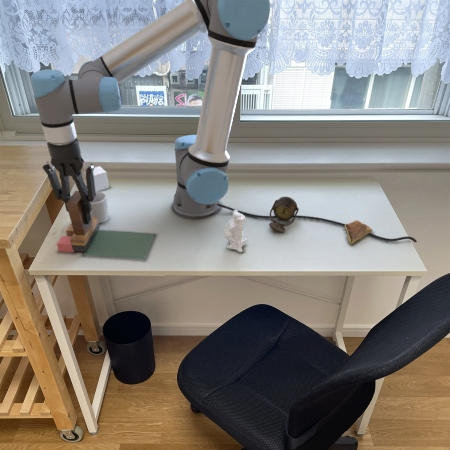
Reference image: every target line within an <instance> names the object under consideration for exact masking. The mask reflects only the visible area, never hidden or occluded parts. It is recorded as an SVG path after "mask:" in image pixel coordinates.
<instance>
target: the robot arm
mask: <svg viewBox="0 0 450 450" xmlns="http://www.w3.org/2000/svg"><path fill="white" fill-rule="evenodd" d="M270 13H271V1H270V0H184V1H183V2H181V3H180V4H178V5H177V6H175V7H174V8H172V9H171V10H169V11H168V12H166V13H164V14H163V15H162V16H160V17H158V18H157V19H156V20H154V21H152V22H151V23H149V24H148V25H146V26H144V27H143V28H142V29H140V30H139V31H137V32H135V33H134V34H133V35H131V36H129V37H127V38H126V39H124V41H122V42H120V43H118V44H117V45H115V46H114V47H112V48H111V49H110V50H108V51H107V52H105V53H103V54H102V55H101V56H99V57H97V58H96V59H94V60H88V61H85V62H84V63H83V64H82V65H81V66H80V68H79V69H78V74H77V75H78V76H77V79H66V77H65V75H64V72H62V71H61V70H60V69H41V70H37V71H35V72H33V73H32V74H31V76H30V84H31V88H32V93H33V98H34V101H35V105H36V108H37V112H38V115H39V119H40V123H41V127H42V131H43V135H44V138H45V141H46V142H47V143H46V146H47V149H48V152H49V156H50V161H46V162H45V163H44V164H43V165H42V169H43V171H44V172H45V174H46V175H47V178H48V180H49V183H50V185H51V188H52V191H53V194H54V196H55V199H56V200H57V201H60V200H61V201H62V202H63V203H64V206H65V210H66V212H68V209H67V205H66V203H67V202H68V200H69V199H70V197H71V196H72V195H71V188H70V177H71V178H72V180H73V181H74V183H75V185H76V188H77V191H79V193H80V196H81V198H82V202H81V207H82V211H83V215H84V220H85V224H89V222H90V221H91V216H90V212H91V210H92V207H91V203H90V201H91V202H92V201H93V200H94V198H95V197H96V192H95V184H94V175H93V171H94V167H96V166H95V164H94V163H87V162H85V160H84V158H83V157H82V154H81V153H82V151H81V147H80V143H79V139H78V138H77V137H78V134H77V130H76V126H75V121H74V117H73V115H85V114H103V113H105V114H108V113H112V112H117V111H118V112H119V111H120V110H121V108H122V101H121V95H120V88H119V85H120V84H122V83H123V82H125V81H126V80H128V79H129V78H131V77H133V76H134V75H135V74H138V73H139V72H140V71H143V70H144V69H145V68H147V67H148V66H150V65H152V64H153V63H155V62H156V61H158V60H159V59H161V58H162V57H164V56H166V55H167V54H169V53H170V52H172V51H173V50H175V49H176V48H178V47H180V46H182V44H185V43H186V42H188V41H189V40H191V39H192V38H194V37H195V36H197V35H198V34H200V33H203V34H207V38H208V40H209V42H210V43H211V51H210V57H209V63H208V69H207V74H206V79H205V86H204V91H203V97H202V103H201V109H200V112H199V113H200V114H199V119H198V126H197V131H196V134H189V135H183V136H180V137H178V138H176V139H175V141H174V148H173V150H174V155H175V166H176V167H175V169H176V181H177V182H176V184H177V186H176V190H175V193H174V195H173V201H172V205H173V210H174V211H175V212H176V213H177V214H179V215H181V216H182V217H183V216H184V217H187V218H203V217H209V216H212V215H213V214H215V213H217V211H219V210H220V209H219V208H220V207H221V208H223V209H227V210H229V211H232V212H233V210H237V211H238V213H241V214H243V215H244V216H248V217H253V218H258V219H259V218H260V219H271V218H270V215H261V214H255V213H249V212H247V211H246V212H245V211H243V210H239V209H235V208H233V207H231V206H227V205H225V204H222V203H220V200H222V199H223V198H224V197H225V196H226V194H227V192H228V190H229V185H230V184H229V183H230V182H229V177H228V175H227V171H228V167H229V163H230V160H231V159H230V155H229V153H228V151H227V147H228V142H229V138H230V133H231V128H232V125H233V120H234V119H233V118H234V115H235V111H236V105H237V101H238V97H239V92H240V88H241V84H242V79H243V74H244V71H245V66H246V61H247V56H248V54H250V53H251V52H253V51H254V50H255V49H256V47H257V46H256V45H257V41H258V36H259V35H260V34H261V33H262V32H263V31H264V30H265V28H266V26H267V24H268V22H269V18H270ZM82 168H83V173H84V172H85V173H86V179H85V180H84V178H83V173H82ZM57 172H58V174H59V175H57ZM58 176H59V177H58ZM85 182H87V183H85ZM68 213H69V212H68ZM294 216H295V214H294V215H293V217H292V219H293V218H294ZM272 218H273V219H278V218H277V217H276V216H275V215H272ZM295 219H309V220H316V221H321V222H326V223H330V224H335V225H338V226H341V227H345V224H346V223H343V222H339V221H335V220H331V219H329V218H328V219H327V218H322V217H316V216H309V215H296V218H295ZM367 235H368V236H370V237H372V238H374V239H375V238H376V239H378V240H381V241H386V242H397V241H402V240H411V241H413V242H414V243H418V241H417V239H416V238H414V237H412V236H400V237H395V238H387V237H383V236H379V235H376V234H374V233H372V232H371V233H368V234H367Z"/></svg>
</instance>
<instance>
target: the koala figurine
mask: <svg viewBox="0 0 450 450" xmlns="http://www.w3.org/2000/svg"><path fill="white" fill-rule="evenodd" d="M237 210H238V209H236V210H233V211H232V214H231V215H232V218H231V219H230V220H229V221H228V222H227V223H226V224H225V226H224V229H223V235H224V238H225V239H226V240H228V241H229V244H228V245H227V246H226V248H227V249H230V250H235V251H237V252H239V253H243V249H242V248H243V246H244V245H245V243H247V241H248V239H247V238H246V237H243V230H244V229H243V225H244V224H245V223H246V222H247V221H248V220H247V219H246V215H244V214H241V213H238V211H237Z"/></svg>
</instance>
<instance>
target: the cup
mask: <svg viewBox="0 0 450 450" xmlns="http://www.w3.org/2000/svg"><path fill="white" fill-rule="evenodd" d="M95 192H96V197H95V198H94V200H93V201H92V202H91V201H90V203H91V207H92V210H91V216H92V217H97V219H98V223H99V224H102V223H105V222H107V220H108V218H109V207H108V206H109V205H108V196H107V194H106V193H105V192H103V191H95Z"/></svg>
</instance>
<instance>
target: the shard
mask: <svg viewBox="0 0 450 450" xmlns="http://www.w3.org/2000/svg"><path fill="white" fill-rule="evenodd" d="M344 224H345V226H344V228H345V230H346V233H347V239H348V242H349V243H350V245H353V244H355V243H356V242H357V241H359V240H360V239H362V238H364V237H365V236H367V235H368V233H372V232H373V229H372V228H371V227H370V226H369V225H367V224H365V223H363V222H361V221H359V220H353V221H351V222H349V223H344Z"/></svg>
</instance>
